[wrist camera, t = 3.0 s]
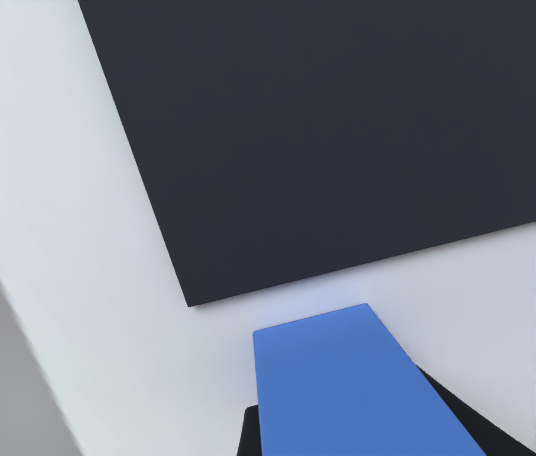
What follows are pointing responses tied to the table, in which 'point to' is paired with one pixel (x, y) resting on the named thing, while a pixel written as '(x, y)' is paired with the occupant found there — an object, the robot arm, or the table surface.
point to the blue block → (348, 392)
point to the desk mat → (321, 128)
